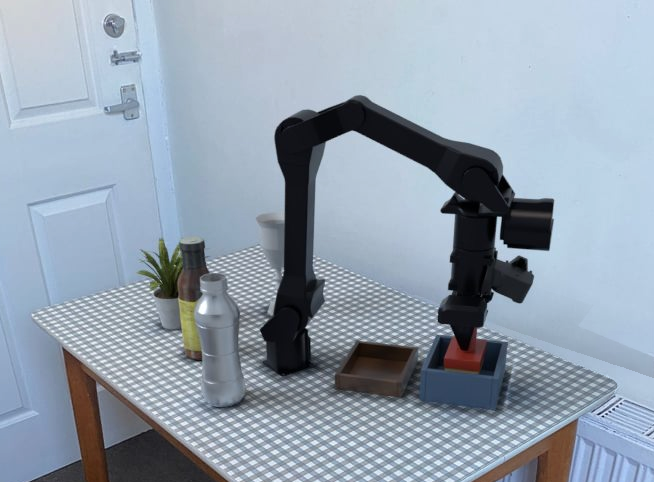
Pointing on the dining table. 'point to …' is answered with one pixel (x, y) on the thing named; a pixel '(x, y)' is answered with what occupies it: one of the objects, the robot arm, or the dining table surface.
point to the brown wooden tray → (377, 369)
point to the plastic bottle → (219, 342)
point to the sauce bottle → (191, 292)
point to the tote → (463, 377)
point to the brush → (465, 356)
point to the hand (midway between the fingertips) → (465, 345)
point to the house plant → (166, 285)
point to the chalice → (273, 244)
